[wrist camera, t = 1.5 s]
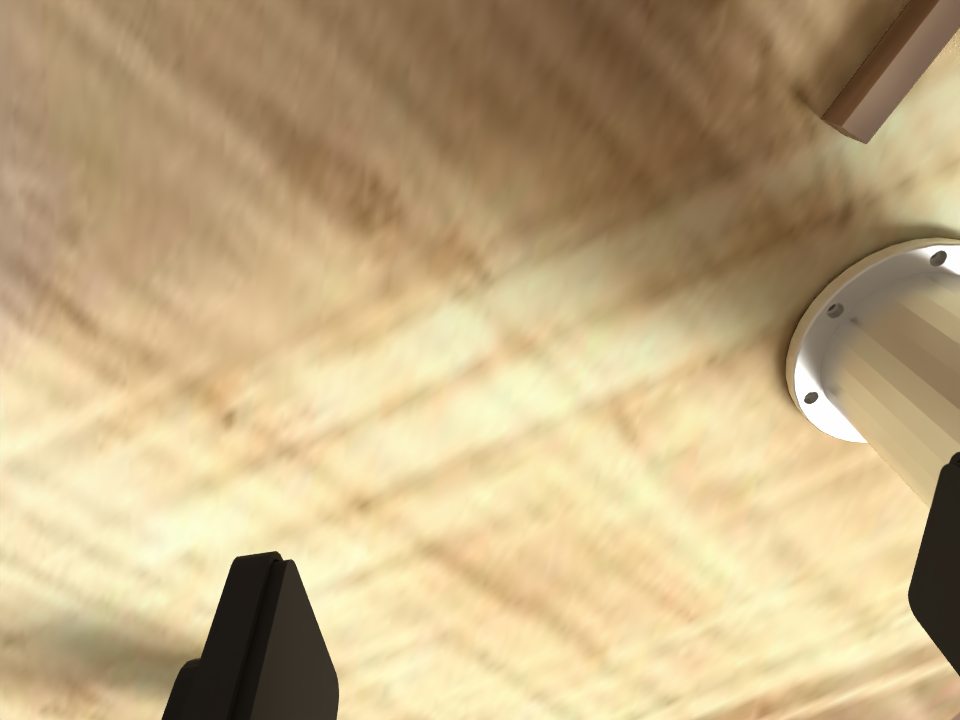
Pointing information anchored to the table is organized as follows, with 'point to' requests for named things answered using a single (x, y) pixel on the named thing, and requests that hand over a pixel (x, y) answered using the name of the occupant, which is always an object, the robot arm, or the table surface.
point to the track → (893, 67)
